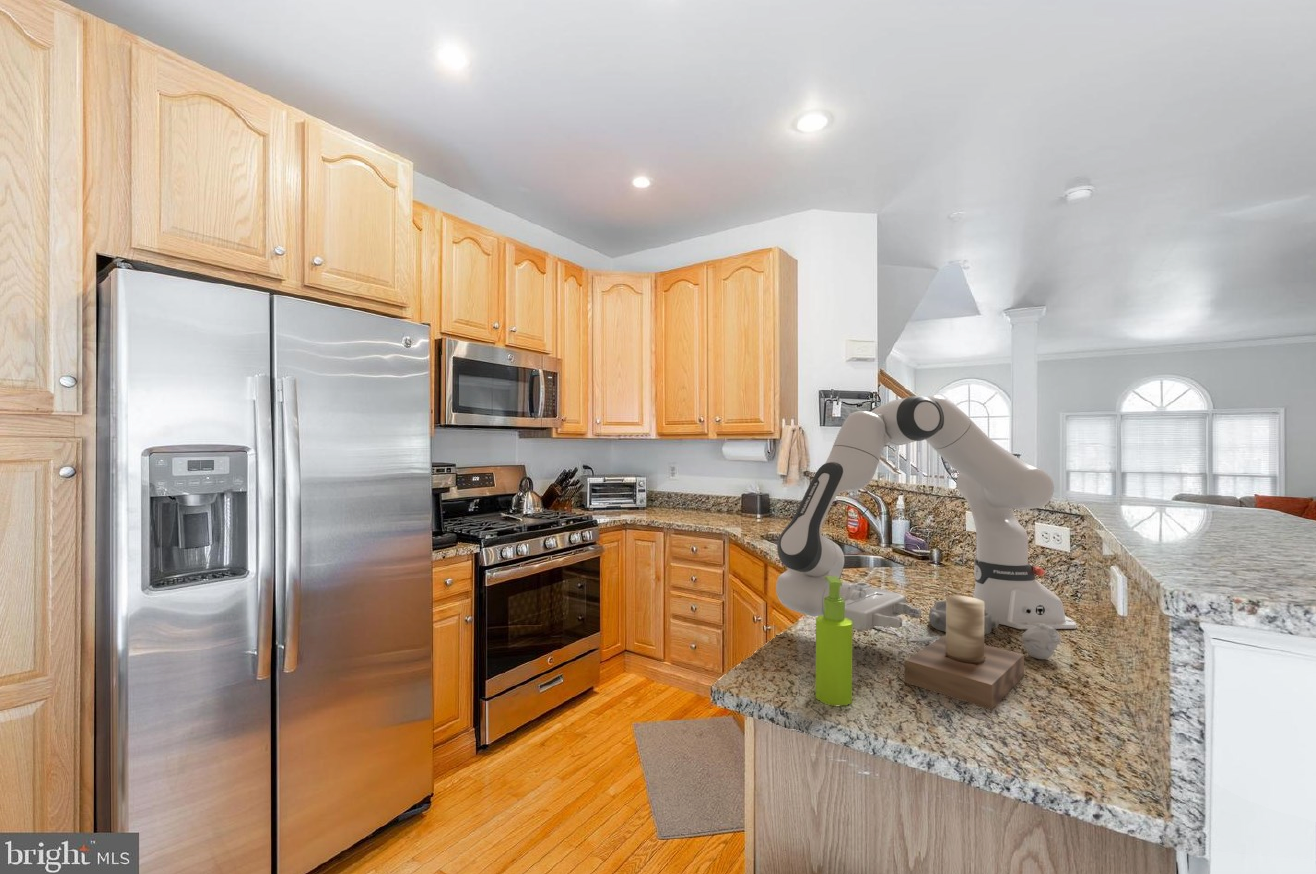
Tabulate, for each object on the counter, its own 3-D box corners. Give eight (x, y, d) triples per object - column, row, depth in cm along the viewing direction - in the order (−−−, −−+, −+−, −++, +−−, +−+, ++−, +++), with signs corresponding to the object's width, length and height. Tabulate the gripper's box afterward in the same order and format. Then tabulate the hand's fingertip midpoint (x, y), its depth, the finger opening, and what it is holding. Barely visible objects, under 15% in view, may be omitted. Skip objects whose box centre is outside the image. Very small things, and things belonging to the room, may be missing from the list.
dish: (932, 634, 127) (932, 612, 127) (922, 617, 140) (922, 597, 140) (1004, 642, 122) (1004, 619, 122) (986, 623, 136) (986, 602, 136)
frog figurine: (1068, 664, 110) (1068, 629, 110) (1034, 664, 109) (1034, 629, 109) (1045, 652, 116) (1045, 619, 116) (1013, 653, 115) (1013, 619, 115)
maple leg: (974, 670, 104) (975, 596, 105) (991, 684, 98) (991, 605, 98) (939, 668, 105) (940, 594, 105) (953, 682, 99) (954, 604, 99)
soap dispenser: (845, 688, 97) (846, 574, 97) (855, 707, 90) (856, 584, 90) (811, 686, 97) (812, 573, 98) (818, 705, 90) (820, 582, 91)
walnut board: (944, 654, 114) (944, 635, 114) (1024, 675, 104) (1024, 654, 104) (904, 682, 100) (904, 660, 100) (991, 709, 90) (991, 685, 90)
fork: (839, 618, 139) (839, 610, 139) (937, 646, 120) (937, 637, 120) (832, 620, 137) (832, 613, 137) (930, 649, 118) (930, 640, 118)
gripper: (820, 597, 112) (888, 612, 102) (866, 581, 126) (930, 593, 116) (819, 628, 112) (887, 647, 102) (866, 609, 126) (929, 624, 116)
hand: (910, 618), depth 109 cm, fingers open, 8 cm apart
